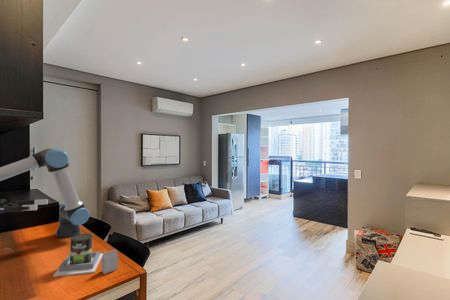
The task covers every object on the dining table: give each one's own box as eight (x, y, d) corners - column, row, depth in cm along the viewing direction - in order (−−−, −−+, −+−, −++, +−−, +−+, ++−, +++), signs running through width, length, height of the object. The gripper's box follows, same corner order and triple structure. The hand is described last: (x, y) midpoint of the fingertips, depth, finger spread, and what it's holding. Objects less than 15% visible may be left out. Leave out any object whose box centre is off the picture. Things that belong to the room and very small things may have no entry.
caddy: (69, 257, 137) (69, 251, 137) (103, 254, 142) (103, 248, 142) (53, 276, 116) (53, 270, 116) (94, 272, 121) (94, 266, 121)
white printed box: (117, 269, 125) (118, 250, 125) (104, 274, 120) (104, 254, 120) (114, 267, 128) (115, 248, 128) (101, 271, 122) (102, 252, 123)
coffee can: (88, 266, 125) (89, 239, 126) (66, 268, 123) (67, 241, 123) (93, 257, 135) (94, 233, 135) (73, 259, 133) (74, 234, 133)
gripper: (9, 207, 139) (51, 205, 145) (-21, 220, 115) (31, 217, 122) (9, 194, 139) (51, 193, 145) (-21, 204, 115) (31, 202, 121)
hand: (42, 204), depth 133 cm, fingers open, 13 cm apart
